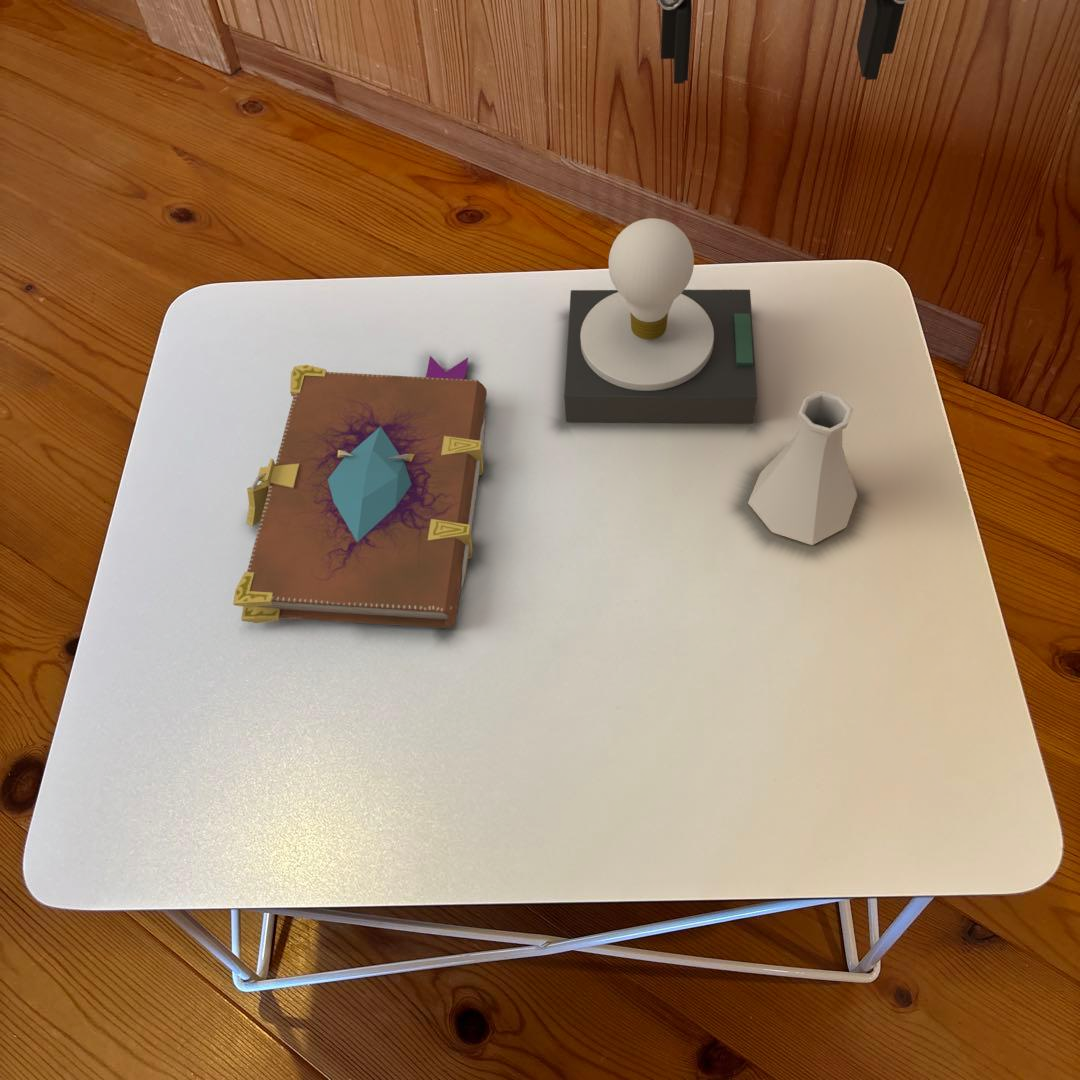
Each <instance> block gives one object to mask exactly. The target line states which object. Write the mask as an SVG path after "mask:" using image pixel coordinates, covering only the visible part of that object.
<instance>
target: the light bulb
mask: <svg viewBox="0 0 1080 1080" xmlns="http://www.w3.org/2000/svg"><path fill="white" fill-rule="evenodd" d="M694 257H695V256H694V250H693V246H692V244H691V242H690V240H689V238H688V236H687V235H686V233H684V231H682V230H681V228H680V227H678V226H677V225H676V224H674V223H672V222H670V221H668V220H666V219H662V218H653V217H651V218H650V217H649V218H643V219H639V220H636V221H634V222H632V223H631V224H629V225H627V226H626V227H625V228H623V229H622V230H621V232H620V233H619V234H618V235H617V237H616V238H615V239H614V241H613V243H612V245H611V248H610V251H609V255H608V274H609V277H610V280H611V283H612V284H613V286H614V288H615V290H617V291H618V292H619V293H620V294H621V295H622V296H623V297H624V298H625V300H626V303H627V306H628V308H629V310H630V314H631V329H632V332H633V333H634V334H635V335H636V336H637V337H639V338H641V339H646V340H652V339H656V338H659V337H660V336H662V335H663V334H664V333H665V331H666V327H667V319H668V312H669V310H670V308H671V306H672V303H673V301H674V299H675V298H677V297H678V296H679V295H680V294H681V293H682V292H683V291H684V290H686V288H687V286H688V285H689V283H690V281H691V279H692V276H693V272H694V267H695V258H694Z"/></svg>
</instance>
